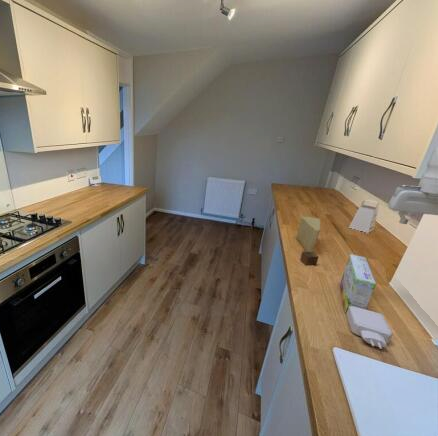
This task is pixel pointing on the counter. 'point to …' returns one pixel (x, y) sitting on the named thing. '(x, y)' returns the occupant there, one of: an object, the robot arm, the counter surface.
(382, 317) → the charger
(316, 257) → the walnut block
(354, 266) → the snack box
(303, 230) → the cheese
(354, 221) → the grater
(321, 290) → the counter surface
